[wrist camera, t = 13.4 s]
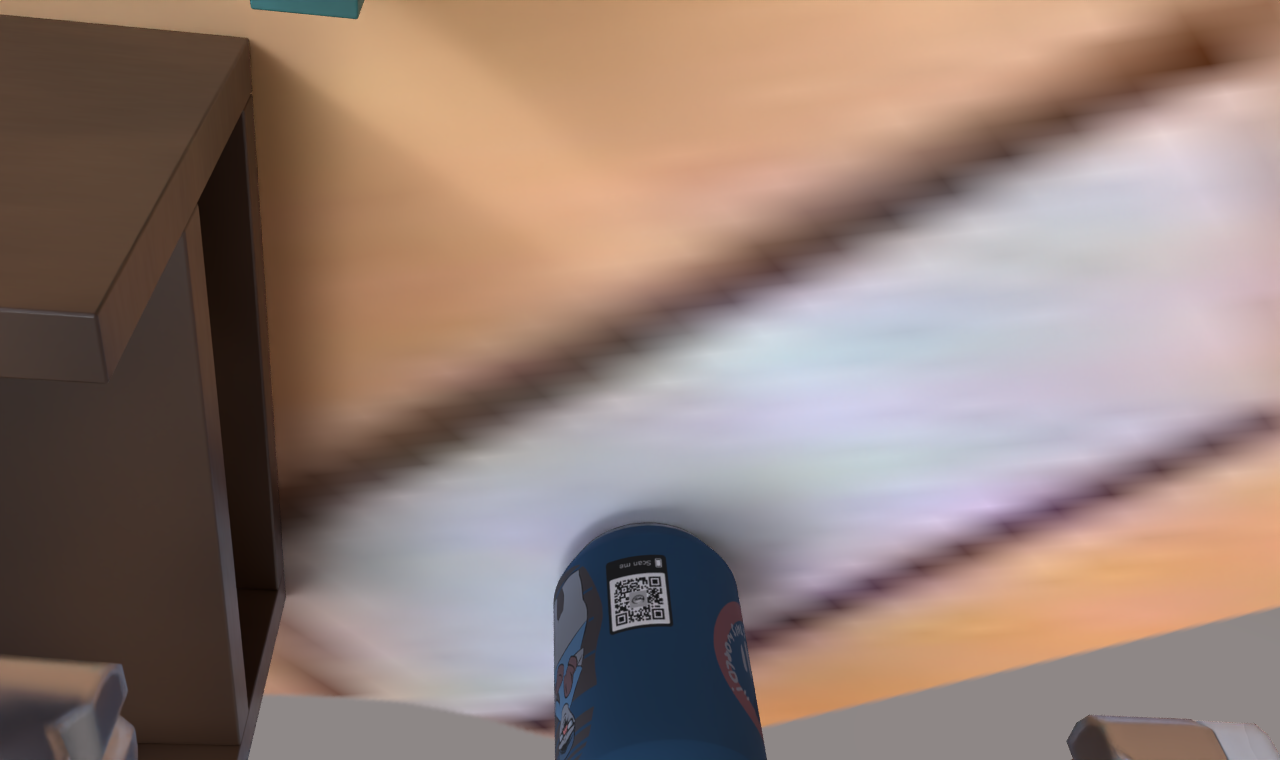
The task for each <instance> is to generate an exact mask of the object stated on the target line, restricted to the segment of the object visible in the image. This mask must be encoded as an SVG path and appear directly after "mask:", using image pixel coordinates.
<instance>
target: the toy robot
mask: <svg viewBox="0 0 1280 760" xmlns="http://www.w3.org/2000/svg"><path fill="white" fill-rule="evenodd" d="M363 3H364V0H250V4H251V8H252V9H258V10H268V11H279V12H289V13H299V14H309V15H320V16H330V17H340V18H350V19H358V17H359V14H360V11H361V8H362V5H363Z"/></svg>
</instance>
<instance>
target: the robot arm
mask: <svg viewBox="0 0 1280 760" xmlns="http://www.w3.org/2000/svg"><path fill="white" fill-rule="evenodd" d="M127 693H128V689H127V684H126V680H125V676H124V672H123V667H122V664H116V663H106V662H94V661H82V660H69V659H57V658H45V657H32V656H20V655H7V654H0V760H138V744H137V738H136V732H135V727H134V726H133V725H132V724H130V723H129V722H128V721H127V720H126V719H124V718H123V717H122V716H121V715H120V711H121V709H122V706H123V704H124V701H125V698H126V696H127ZM1067 744H1068V746H1069V749H1070V752H1071V755H1072V757H1073V759H1072V760H1280V755H1279V753H1278V751H1277V749H1276V747H1275V746H1274V744H1273V742H1272V740H1271V739H1270V737H1269V736H1268V735H1267V734H1266V733H1265V732H1264V731H1263V730H1262V729H1261V728H1259V727H1258V726H1257V725H1256V724H1248V723H1231V722H1229V723H1228V722H1213V721H1212V722H1211V721H1193V720H1191V719H1175V718H1151V717H1127V716H1102V715H1088V716H1087V717H1085V718H1083V719H1082V720H1080V721H1078V722H1077V723H1076V725H1075V726H1074V728H1073V730H1072V732H1071V734H1070V736H1069V737H1068V739H1067Z"/></svg>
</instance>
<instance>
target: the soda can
mask: <svg viewBox="0 0 1280 760" xmlns="http://www.w3.org/2000/svg"><path fill="white" fill-rule="evenodd" d="M554 696H555V760H767V758H766V752H765V746H764V740H763V734H762V728H761V723H760V717H759V711H758V705H757V700H756V694H755V688H754V682H753V677H752V671H751V665H750V659H749V654H748V648H747V642H746V636H745V631H744V625H743V619H742V613H741V608H740V602H739V596H738V590H737V585H736V581H735V578H734V576H733V574H732V572H731V570H730V568H729V567H728V565H727V564H726V563H725V561H724V560H723V559H722V558H721V557H720V556H719V555H718V554H717V553H716V552H715V551H714V550H712V549H711V548H710V547H709V546H707V545H706V544H705V543H703V542H702V541H701V540H699V539H698V538H697V537H695V536H694V535H692V534H690V533H689V532H687V531H685V530H682V529H680V528H677V527H674V526H670V525H665V524H658V523H638V524H631V525H626V526H622V527H618V528H615V529H612V530H610V531H608V532H606V533H604V534H602V535H600V536H598V537H597V538H595V539H594V540H593V541H591V542H590V543H589V544H588V545H587V546H586V547H585V548H584V549H583V550H582V551H581V552H580V553H579V554H578V555H577V556H576V557H575V559H574V560H573V561H572V562H571V563H570V565H569V566H568V567H567V568H566V570H565V571H564V573H563V574H562V576H561V578H560V580H559V582H558V585H557V587H556V590H555V594H554Z"/></svg>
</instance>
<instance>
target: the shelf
mask: <svg viewBox="0 0 1280 760" xmlns="http://www.w3.org/2000/svg"><path fill="white" fill-rule="evenodd" d="M251 93H252V79H251V64H250V49H249V40H248V39H247V38H240V37H229V36H219V35H208V34H198V33H187V32H177V31H166V30H156V29H145V28H135V27H124V26H114V25H103V24H93V23H82V22H72V21H61V20H51V19H41V18H30V17H20V16H9V15H0V654H7V655H20V656H32V657H45V658H57V659H69V660H82V661H94V662H106V663H116V664H122V667H123V672H124V676H125V680H126V684H127V689H128V693H127V696H126V698H125V701H124V704H123V706H122V709H121V711H120V715H121V716H122V717H123V718H124V719H126V720H127V721H128V722H129V723H130V724H132V725H133V726H134V727H135V732H136V738H137V744H138V760H248V756H249V752H250V748H251V744H252V739H253V735H254V731H255V727H256V722H257V718H258V714H259V710H260V705H261V701H262V697H263V693H264V688H265V684H266V680H267V676H268V671H269V667H270V663H271V659H272V654H273V650H274V646H275V642H276V637H277V633H278V629H279V625H280V620H281V616H282V612H283V608H284V603H285V599H286V593H285V578H284V565H283V550H282V534H281V519H280V504H279V489H278V474H277V459H276V444H275V429H274V413H273V398H272V383H271V368H270V353H269V338H268V323H267V307H266V292H265V277H264V262H263V247H262V232H261V217H260V202H259V186H258V171H257V156H256V141H255V126H254V111H253V96H252V94H251Z"/></svg>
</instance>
